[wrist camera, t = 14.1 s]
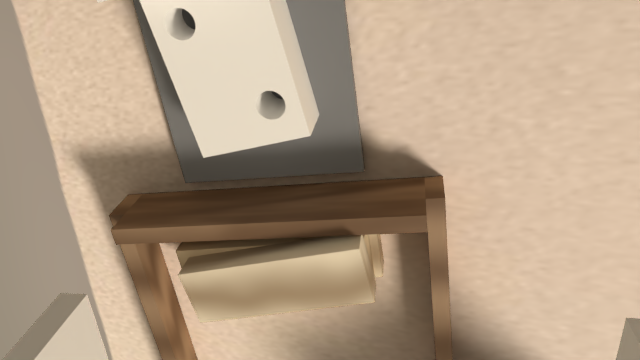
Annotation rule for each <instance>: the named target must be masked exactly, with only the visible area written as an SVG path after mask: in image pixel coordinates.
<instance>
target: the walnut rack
mask: <svg viewBox="0 0 640 360" xmlns="http://www.w3.org/2000/svg"><path fill="white" fill-rule="evenodd" d="M109 217H110V219H111V222H112V225H113V228H112V229H111V232H112V235H113V238H114V240H115V243H116V245H118V244H120V246H121V249H122V252H123V254H124V257H125V260H126V262H127V265H128V268H129V270H130V273H131V276H132V279H133V281H134V284H135V287H136V289H137V292H138V295H139V297H140V300H141V303H142V306H143V308H144V311H145V314H146V316H147V319H148V322H149V324H150V327H151V330H152V332H153V335H154V338H155V341H156V343H157V346H158V349H159V351H160V354H161V357H162V359H163V360H198V359H197V356H196V353H195V350H194V347H193V344H192V341H191V338H190V335H189V332H188V329H187V326H186V323H185V320H184V317H183V314H182V311H181V308H180V305H179V302H178V299H177V296H176V293H175V290H174V287H173V284H172V281H171V278H170V275H169V272H168V269H167V266H166V263H165V260H164V257H163V254H162V251H161V248H160V245H159V243H169V242H194V241H219V240H244V239H270V238H295V237H320V236H345V235H370V234H396V233H421V232H427V229H428V244H429V260H430V276H431V291H432V307H433V323H434V339H435V354H436V360H452V341H451V319H450V297H449V275H448V253H447V231H446V209H445V193H444V185H443V176H435V177H418V178H401V179H385V180H368V181H351V182H334V183H317V184H300V185H283V186H267V187H250V188H233V189H216V190H199V191H182V192H165V193H149V194H132V195H127V197H126V198H125V199H124V200H123V201H122V202H121V203H120V204H119V205H118V206H117V207H116V208H115V209H114V210H113V212H112V213H111V214H110V215H109Z"/></svg>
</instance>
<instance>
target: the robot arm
mask: <svg viewBox="0 0 640 360" xmlns="http://www.w3.org/2000/svg"><path fill="white" fill-rule="evenodd" d="M2 360H109V359H108V356H107V353H106V350H105V347H104V344H103V341H102V338H101V335H100V332H99V329H98V326H97V323H96V320H95V317H94V314H93V311H92V308H91V305H90V302H89V299H88V296H87V294H67V293H60V294H59V295H58V296H57V298H56V299H55V300H54V301H53V302H52V303H51V304H50V306H49V307H48V308H47V309H46V310H45V311H44V312H43V314H42V315H41V316H40V317H39V318H38V319H37V320H36V321H35V323H34V324H33V325H32V326H31V327H30V328H29V329H28V331H27V332H26V333H25V334H24V335H23V337H21V339H20V340H19V341H18V342H17V343H16V344H15V346H14V347H13V348H12V349H11V350H10V351H9V352H8V353H7V354H6V356H5V357H4V358H3V359H2ZM616 360H640V319H634V318H626V321H625V325H624V329H623V333H622V337H621V341H620V346H619V350H618V354H617V358H616Z"/></svg>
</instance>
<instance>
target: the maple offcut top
mask: <svg viewBox="0 0 640 360" xmlns="http://www.w3.org/2000/svg"><path fill="white" fill-rule="evenodd" d="M178 276H179V278H180V280H181V282H182V284H183V287H184V289H185V291H186V293H187V295H188V297H189V299H190V302H191V304H192V306H193V308H194V310H195V312H196V314H197V316H198V319H199V321H200V323H204V322H213V321H221V320H230V319H238V318H247V317H255V316H264V315H272V314H281V313H289V312H298V311H306V310H315V309H323V308H332V307H340V306H349V305H357V304H366V303H375V291H376V280H375V277H374V273H373V270H372V266H371V262H370V259H369V255H368V252H367V248H366V245H365V241H364V237H363V235H345V236H326V237H319V238H312V239H306V240H299V241H293V242H286V243H280V244H273V245H266V246H260V247H253V248H247V249H240V250H233V251H227V252H220V253H214V254H207V255H201V256H194V257H189V258H188V259H187V261H186V263H185V264H184V266H183V268H182V269H181V271H180V273H179V274H178Z"/></svg>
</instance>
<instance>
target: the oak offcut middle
mask: <svg viewBox="0 0 640 360" xmlns="http://www.w3.org/2000/svg"><path fill="white" fill-rule="evenodd" d="M320 237H326V236H320ZM363 237H364V241H365V245H366V248H367V252H368V255H369V259H370V262H371V266H372V270H373V273H374V277H375V272H374V266H373V259H372V253H371V246H370V240H369V235H363ZM312 238H319V237H295V238H270V239H244V240H219V241H194V242H181V244H180V245H179V247H178V249H177V250H176V253H177V256H178V259H179V262H180V265H181V268H183V266H184V264H185V263H186V261H187V259H188V258H189V257H194V256H201V255H207V254H214V253H220V252H227V251H233V250H240V249H247V248H253V247H260V246H266V245H273V244H280V243H286V242H293V241H299V240H306V239H312Z"/></svg>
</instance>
